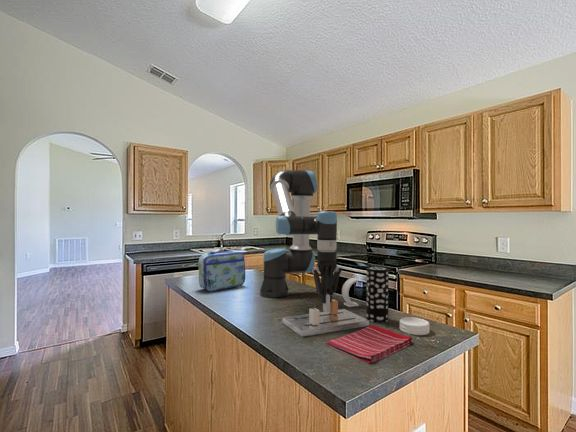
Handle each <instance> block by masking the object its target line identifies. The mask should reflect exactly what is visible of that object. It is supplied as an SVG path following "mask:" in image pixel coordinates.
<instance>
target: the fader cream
mask: <svg viewBox="0 0 576 432" xmlns="http://www.w3.org/2000/svg"><path fill="white" fill-rule="evenodd" d="M319 312H320V309H318V308H316V307H313V308H309V310H308V314H309V323H310V324H312V325H319Z"/></svg>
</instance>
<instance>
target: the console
mask: <svg viewBox="0 0 576 432" xmlns="http://www.w3.org/2000/svg"><path fill="white" fill-rule="evenodd" d="M282 324H284V325H285V326H286V327H288V328H290V329H291V330H292V331H293V332H295V333H296V334H297V335H299V336H300V337H301V338H304V337H310V336H315V335H316V336H317V335H321V334H327V333H333V332H334V333H335V332H340V331H346V330H351V329H359V328H366V327H368V326H370V321H369V320H367V318H366V317H364V316H361V315H358V314H356V313H355V312H352V311H350V310H347V309H345V308H343V309H338V314H331V313H329V312H325V311H319V325H312V324H310V323H309V313H304V314H296V315H289V316H283V317H282Z"/></svg>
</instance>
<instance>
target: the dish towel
mask: <svg viewBox="0 0 576 432" xmlns="http://www.w3.org/2000/svg"><path fill="white" fill-rule="evenodd" d="M412 340H413V338H412V336H410V335H409V336H408V335H405V334H404V335H403V334H400V333H398V332H394V331H392V330H389V329H387V328H383V327H380V326H377V325H374V324H373V325H372V324H370V325H369V326H365V327H363V328H362V329H359V330H356V331H354V332H352V333H348V334H346V335H343V336H341V337H338V338H335V339H330V340H328V341H326V342H325V345H326V346H327V347H328V348H331V349H333V350H335V351H338V352H340V353H342V354H344V355H347V356H349V357H352V358H354V359H356V360H359V361H361V362H363V363H366V364H368V365H370V364H372V363H375V362H378V361H380V360H382V359H385V358H387V357H389V356H391V355H392V354H393V355H394V354H395V353H397V352H399V351H401V350H403V349H405V348H407V347H409V346H411V345H413V341H412Z"/></svg>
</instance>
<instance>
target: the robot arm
mask: <svg viewBox="0 0 576 432" xmlns="http://www.w3.org/2000/svg"><path fill="white" fill-rule="evenodd" d="M317 189H318V180H317V176H316V174H315V172H314V171H311V170H306V169H304V170H302V169H301V170H298V169H284V170H283V169H282V170H280V171H278V172H276V173H275V174H274V175H273V176H272V177H271V179H270V181H269V191H270V193H271V194H272V195H273V198H274V204H275V206H276V210H277V214H278V216H276V219H275V231H276V233H277V234H278V235H287V236H288V235H292V245H290V247H289V250H288V251H287V249H286V248H273V249H269V250H266V251H265V252H264V253H263V259H262V260H263V279H262V283H261V286H260V288H259V294H260V296H261V297H264V298H265V297H266V298H282V297H287V296H289V295H290V288H289V286H288V281H287V277H286V275H287V274H308V273H312V275H313V279H314V284H315V288H316V289H315V290H316V293H318V294H320V295H321V296H320V297H321V303H322V312H330V303H331V302H332V299H333V298H332V296H334V293H336V292H337V290H338V284H339V279H340V276H341V275H340V274H341V273H342V271H343V269H342V268H341V267H339V266H338V265H337V260H338V258H337V256H338V255H337V254H338V253H337V252H336V251H337V246H338V244H337V241H338V240H337V239H338V237H337V236H338V234H337V233H338V230H337V229H338V217H337V212H336V211H329V210H327V211H318V212H317V215H316V216H310V214H311V200H312V198H313V197H314V194H316V193H317V191H318V190H317ZM292 199H293V200H292ZM310 235H317V238H316V241H317V244H316V245H317V246H316V247H317V249H316V250H318V251H317V252H316V253H315V252H314V251H313V249H312V247H311V246H310ZM316 256H317V257H316ZM316 259H317V262H316ZM315 264H316V266H315Z"/></svg>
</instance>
